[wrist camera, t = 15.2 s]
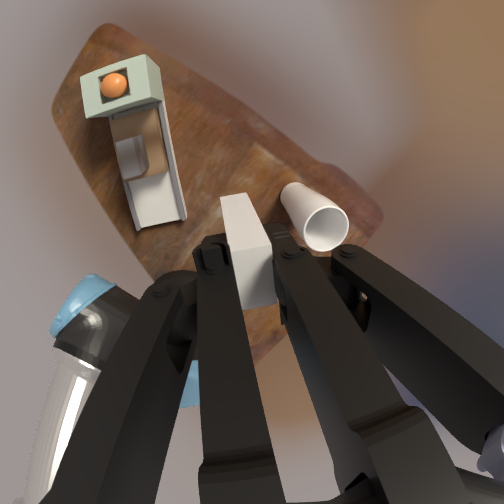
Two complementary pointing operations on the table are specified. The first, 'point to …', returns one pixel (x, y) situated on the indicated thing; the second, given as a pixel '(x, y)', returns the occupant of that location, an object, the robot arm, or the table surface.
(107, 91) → the button
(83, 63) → the table surface
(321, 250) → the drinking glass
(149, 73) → the end cabinet
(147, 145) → the carriage
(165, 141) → the track
